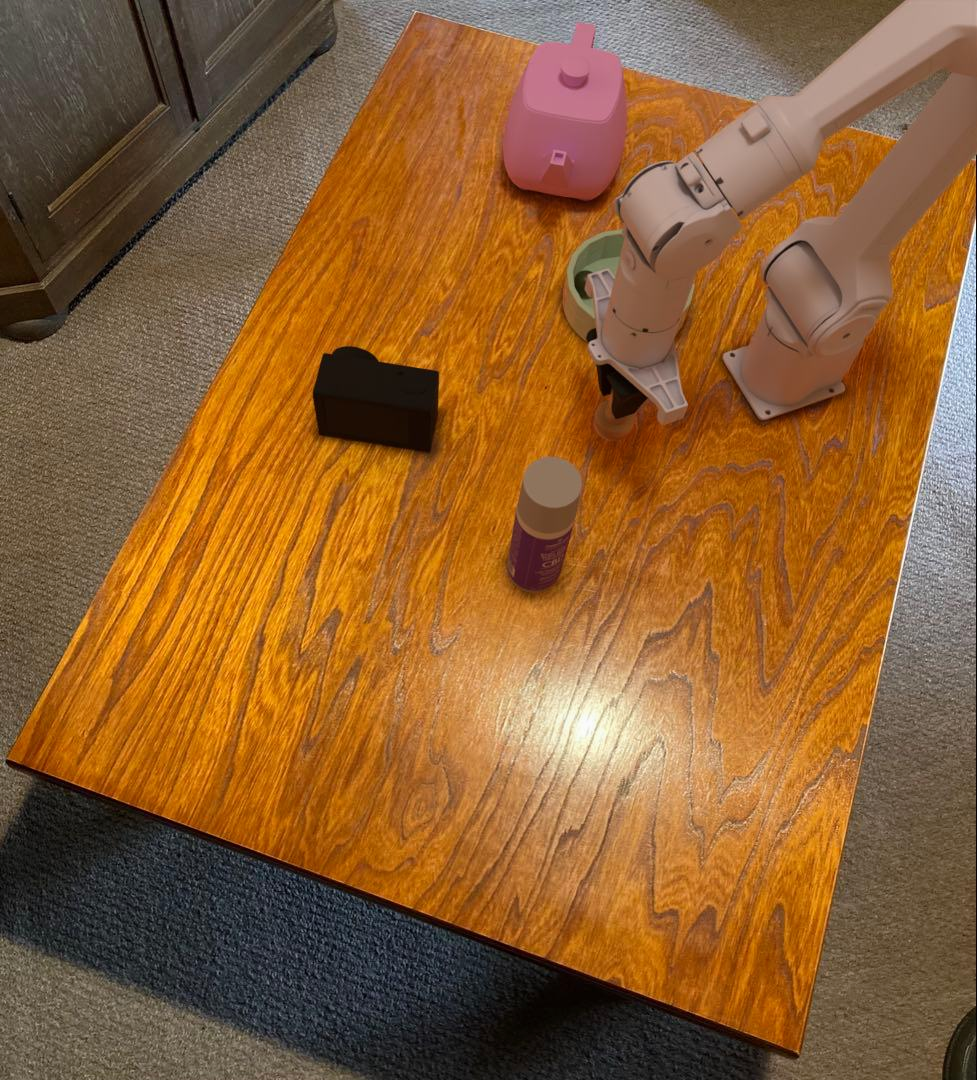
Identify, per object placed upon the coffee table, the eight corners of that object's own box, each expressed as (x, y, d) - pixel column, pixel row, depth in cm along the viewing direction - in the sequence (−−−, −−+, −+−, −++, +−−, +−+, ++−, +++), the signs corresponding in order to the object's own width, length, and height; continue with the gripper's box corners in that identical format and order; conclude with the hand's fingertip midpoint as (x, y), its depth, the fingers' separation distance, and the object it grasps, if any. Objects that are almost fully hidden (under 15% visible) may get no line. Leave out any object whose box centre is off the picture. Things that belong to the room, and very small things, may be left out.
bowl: (650, 243, 110) (658, 215, 107) (706, 335, 105) (717, 309, 102) (542, 275, 108) (546, 248, 104) (595, 371, 103) (601, 346, 99)
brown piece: (632, 409, 99) (650, 350, 91) (633, 442, 98) (651, 386, 90) (593, 406, 99) (608, 348, 91) (593, 440, 97) (608, 383, 89)
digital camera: (441, 403, 100) (443, 359, 94) (431, 453, 98) (432, 410, 92) (331, 386, 100) (325, 340, 94) (318, 435, 98) (312, 391, 92)
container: (541, 603, 92) (562, 520, 78) (496, 574, 93) (509, 487, 79) (570, 563, 94) (595, 475, 80) (526, 535, 95) (543, 444, 81)
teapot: (518, 91, 119) (528, -13, 107) (629, 111, 118) (651, 9, 107) (484, 226, 110) (492, 129, 99) (604, 248, 110) (626, 153, 98)
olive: (569, 297, 106) (580, 283, 107) (591, 302, 105) (602, 288, 106) (567, 277, 104) (578, 263, 105) (590, 281, 103) (601, 267, 104)
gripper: (560, 247, 85) (542, 350, 97) (642, 392, 79) (612, 482, 91) (640, 224, 86) (613, 328, 98) (726, 364, 80) (685, 457, 93)
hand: (617, 401), depth 95 cm, fingers closed on brown piece, 2 cm apart
